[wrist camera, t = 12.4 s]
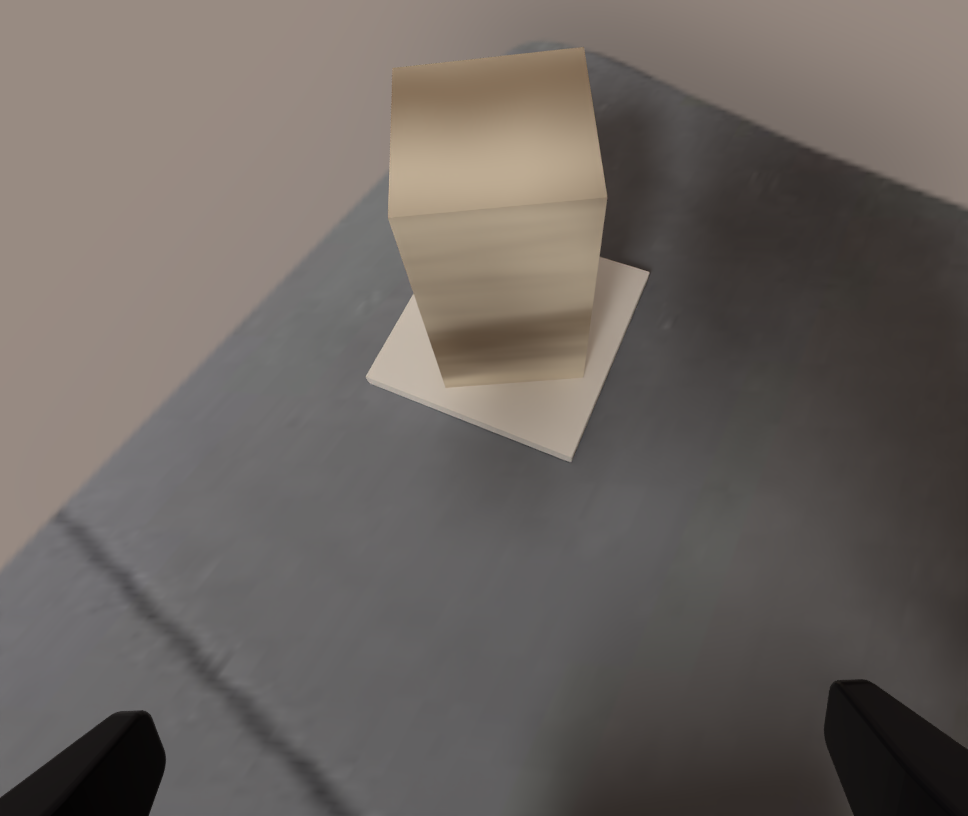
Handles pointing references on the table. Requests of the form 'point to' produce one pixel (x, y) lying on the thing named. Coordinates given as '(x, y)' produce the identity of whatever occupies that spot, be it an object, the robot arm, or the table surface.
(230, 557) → the table surface
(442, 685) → the table surface
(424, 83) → the brass block
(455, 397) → the cream tile
